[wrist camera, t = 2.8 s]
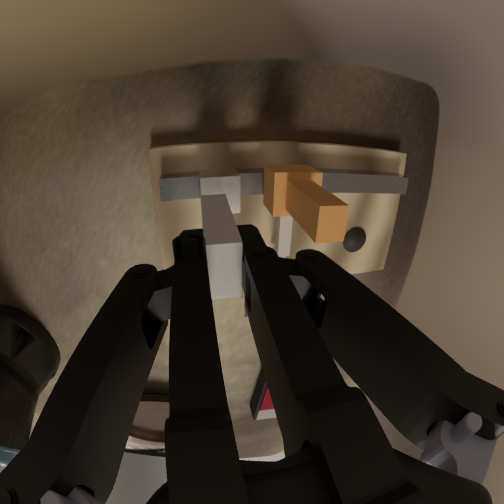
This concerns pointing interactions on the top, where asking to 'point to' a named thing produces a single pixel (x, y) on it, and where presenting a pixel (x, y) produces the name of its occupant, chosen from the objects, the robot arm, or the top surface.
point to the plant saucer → (151, 418)
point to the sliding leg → (302, 205)
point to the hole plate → (251, 206)
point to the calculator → (262, 400)
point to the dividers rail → (253, 183)
